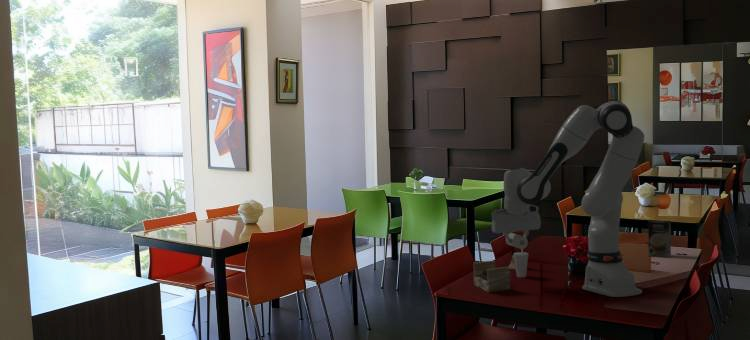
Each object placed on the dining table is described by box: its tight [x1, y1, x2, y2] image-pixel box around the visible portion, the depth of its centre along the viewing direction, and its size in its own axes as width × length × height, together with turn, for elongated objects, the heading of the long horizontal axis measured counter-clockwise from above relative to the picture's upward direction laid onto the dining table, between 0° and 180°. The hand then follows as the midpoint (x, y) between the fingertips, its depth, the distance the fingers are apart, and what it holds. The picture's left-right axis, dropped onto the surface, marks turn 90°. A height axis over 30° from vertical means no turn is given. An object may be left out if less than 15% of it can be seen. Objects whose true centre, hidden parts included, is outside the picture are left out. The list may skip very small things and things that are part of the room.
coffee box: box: [647, 219, 672, 258], centre depth 303 cm, size 9×6×16 cm
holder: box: [472, 260, 511, 294], centre depth 260 cm, size 14×9×9 cm, turn 15°
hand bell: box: [507, 231, 520, 271], centre depth 291 cm, size 8×8×16 cm
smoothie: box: [512, 249, 529, 278], centre depth 275 cm, size 6×6×14 cm
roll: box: [505, 232, 529, 250], centre depth 262 cm, size 10×5×5 cm, turn 15°
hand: (516, 242), depth 262 cm, fingers closed on roll, 5 cm apart
